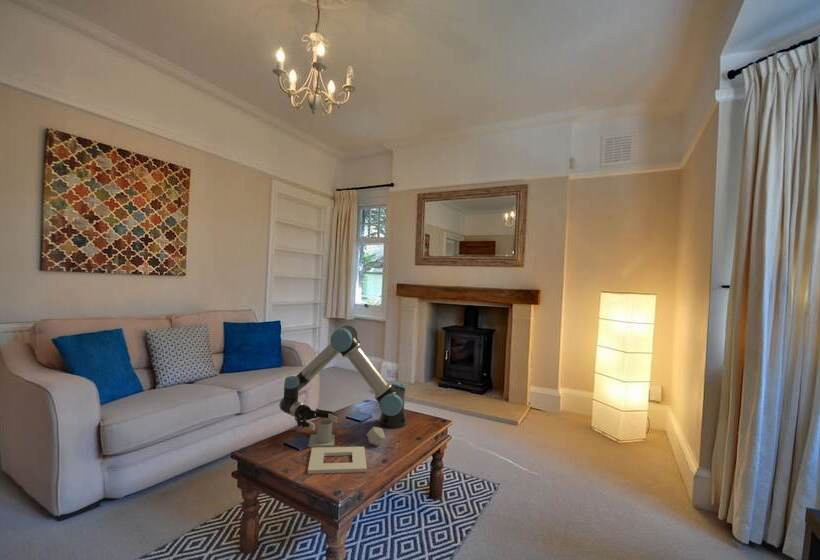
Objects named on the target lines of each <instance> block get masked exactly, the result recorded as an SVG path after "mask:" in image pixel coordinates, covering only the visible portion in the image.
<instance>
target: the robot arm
mask: <svg viewBox="0 0 820 560" xmlns="http://www.w3.org/2000/svg"><path fill="white" fill-rule="evenodd" d="M332 332H333V331H332ZM329 342H330V343H329V344H328V345H327V346H326V347H325V348H324V349H322V351H321V352H320V353H318V355H316V357H315V358H313V360H312V361H310V362H309V363H308V364H307V365H306V366H305V367H304V368H303V369H302V370H301V371H300V372H299V373H298V374H297V375H290V376H286V377H285V379H284V383H283V384H284V386H283V397H282V399H281V400H280V402H279V405H278V406H279V410H281V411H282V412H283V413H285V414H287V415H290V416H292V417H293V418H294V420H295V421H296V424H297V426H298V427H301V428H305V427H306V428H308V429H309V430H312V431H315V429H316V424H315V423H313V422H312V421H310V419H318V418H321V419H322V418H323V419H328V420H331V421H332V422H334V423H336V424H337V423H338V422H339V421H338V419H339V418H338V416H336V415H334V414H333V411H332V410H324V409H320V408H316V409H315V410H312V409H311V407H310V406H308V405H307V404H304V403H302V402H300V401H299V392H300V391H301V390H302V389H303V388H304V387H306V386H307V385H308V384H309V383H310V382H311V381H312V380H313V379H314V378H315V377H316V376H317V375H319V373H320V372H321V371H322V370H324V368H325V367H327V366H328V364H330V362H331V361H333V360H334V359H335V357H337V356H338V355H339V354H341V355H342V357H343V358H347V359H348V360H349V362H350V363H351V365H352V366H354V368H355V370H356V371H357V372H358V373H359V374H360V375H361V378H363V380H364V381H365V382H366V384H367V385H368V387H370V389H371V390H372V392H374V399H375V401H376V402H377V403H378V404H379V408H380V409H379V410H380V411H381V414H380V417H379V424H380V425H381V426H383V427H386V428H391V429H399V428H403V427H404V426H406V425H407V417H406V413H405V399H406V398H405V395H406V383H404V382H401V381H395V380H394V381H393V380H392V381H387V380H386V378H385V377H384V376H383V374H382V373H381V372H380V371H379V369H378V368H377V367H376V366H375V364H374V363H373V362H372V361H371V359H370V358H369V356H368V355H367V354H366V352H365V351H364V350H363V349H362V347H361V341H360V340H359V339H358V332H357V330H356V329H355V328H354V327H353V326H351V325H344V326H341V327H339V328H337V329H335V331H334V332H333V333H332V334H331V336H330V341H329Z"/></svg>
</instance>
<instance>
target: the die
mask: <svg viewBox="0 0 820 560" xmlns="http://www.w3.org/2000/svg"><path fill="white" fill-rule="evenodd" d="M366 437H367V439H368V443H369V444H370V445H372V446H376V447H379V446H380V445H381V444H382V443H383V442H384V440H385V439H386V435H385V432H384V429H383V428H382V427H378V426H374V425H373V426H372V427H371V428H370V430H369V431H368V432H367V433H366Z"/></svg>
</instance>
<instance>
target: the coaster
mask: <svg viewBox="0 0 820 560" xmlns="http://www.w3.org/2000/svg"><path fill="white" fill-rule="evenodd" d="M316 435H317V433H316V434H310V437H309V439H308V444H307V447H308V448H318V447H335V437H336V436H335V435H336V434H335V433H332V437H331V441H330V442H328V443H318V442H317V441H316Z"/></svg>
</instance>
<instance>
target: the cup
mask: <svg viewBox="0 0 820 560" xmlns="http://www.w3.org/2000/svg"><path fill="white" fill-rule="evenodd" d="M316 434H317V435H316V441H317V442H318V443H328V442H330V441H331V437H332V434H333V421H331V420H329V419H328V418H323V419H319V420H318V421H317V422H316Z"/></svg>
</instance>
